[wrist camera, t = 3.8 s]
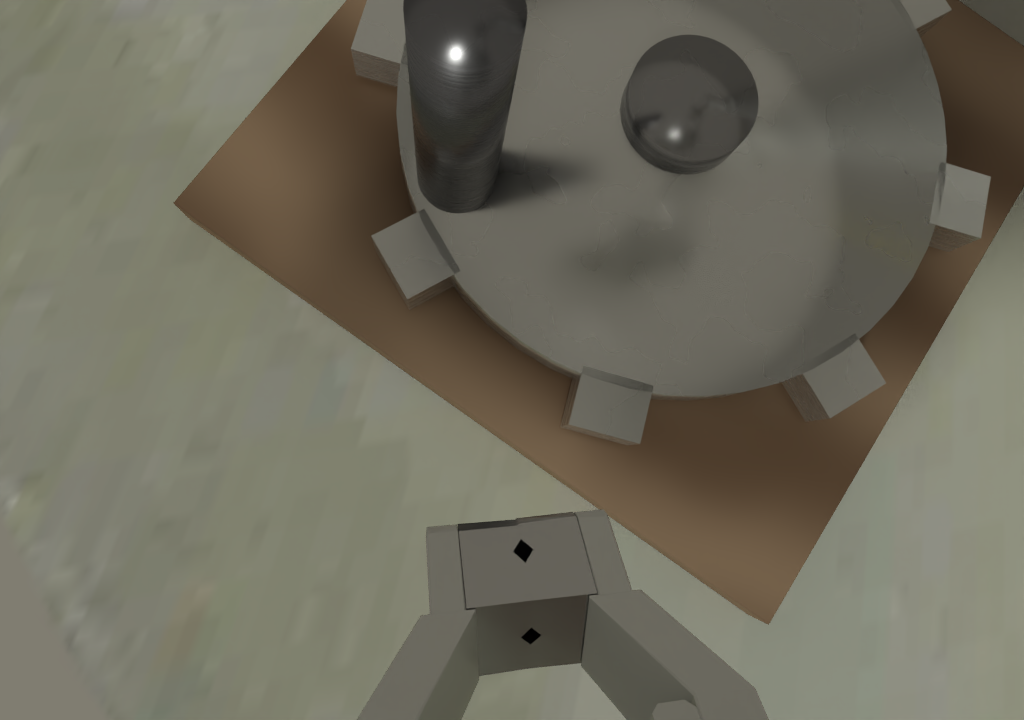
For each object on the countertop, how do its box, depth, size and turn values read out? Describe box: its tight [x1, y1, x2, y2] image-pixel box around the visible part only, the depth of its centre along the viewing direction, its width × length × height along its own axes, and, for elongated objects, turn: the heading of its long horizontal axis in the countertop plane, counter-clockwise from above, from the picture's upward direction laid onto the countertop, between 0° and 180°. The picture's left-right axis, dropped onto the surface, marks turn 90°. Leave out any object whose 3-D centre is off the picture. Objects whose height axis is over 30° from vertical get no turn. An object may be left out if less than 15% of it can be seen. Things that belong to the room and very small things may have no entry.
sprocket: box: [351, 0, 991, 445], centre depth 19 cm, size 20×20×10 cm
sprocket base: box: [174, 0, 1024, 625], centre depth 24 cm, size 23×23×3 cm
